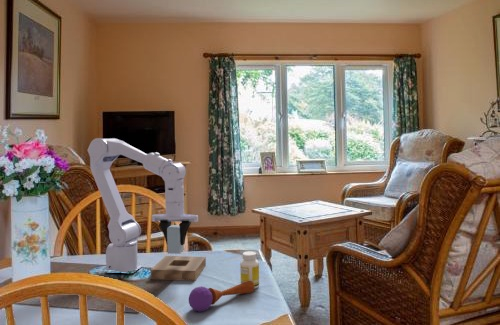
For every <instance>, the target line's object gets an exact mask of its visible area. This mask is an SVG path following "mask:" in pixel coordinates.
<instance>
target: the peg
mask: <svg viewBox="0 0 500 325" xmlns="http://www.w3.org/2000/svg"><path fill="white" fill-rule="evenodd" d="M180 240H181V234H180V226H179V225H177V224H174V225H173V224H171V226H169V227H168V228H167V244H166V247H167V254H172V255H173V254H175V255H177V254H179V255H180V254H182V253H183V251H185V244H184V245H181V242H180Z"/></svg>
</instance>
